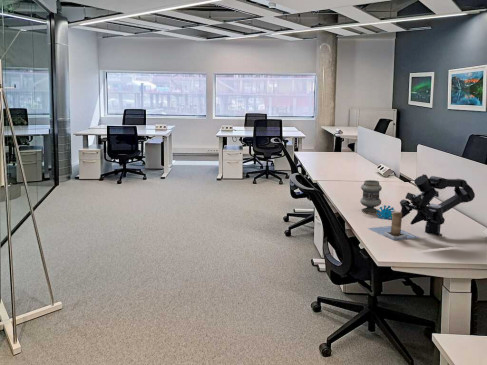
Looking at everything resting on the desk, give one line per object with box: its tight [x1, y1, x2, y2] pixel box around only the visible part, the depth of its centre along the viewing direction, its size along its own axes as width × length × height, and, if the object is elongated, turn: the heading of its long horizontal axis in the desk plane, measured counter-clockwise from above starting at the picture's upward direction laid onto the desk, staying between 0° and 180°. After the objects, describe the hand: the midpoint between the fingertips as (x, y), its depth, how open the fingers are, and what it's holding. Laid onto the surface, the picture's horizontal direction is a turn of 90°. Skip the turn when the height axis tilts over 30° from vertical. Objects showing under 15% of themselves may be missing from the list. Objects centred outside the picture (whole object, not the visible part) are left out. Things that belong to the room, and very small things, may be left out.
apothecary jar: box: [359, 179, 382, 214], centre depth 287 cm, size 12×12×18 cm
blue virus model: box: [376, 205, 396, 221], centre depth 269 cm, size 11×6×10 cm
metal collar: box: [383, 232, 407, 241], centre depth 233 cm, size 8×8×2 cm
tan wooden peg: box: [390, 210, 403, 236], centre depth 232 cm, size 4×4×12 cm
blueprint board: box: [367, 225, 420, 242], centre depth 240 cm, size 15×22×1 cm
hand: (404, 221), depth 234 cm, fingers open, 9 cm apart
